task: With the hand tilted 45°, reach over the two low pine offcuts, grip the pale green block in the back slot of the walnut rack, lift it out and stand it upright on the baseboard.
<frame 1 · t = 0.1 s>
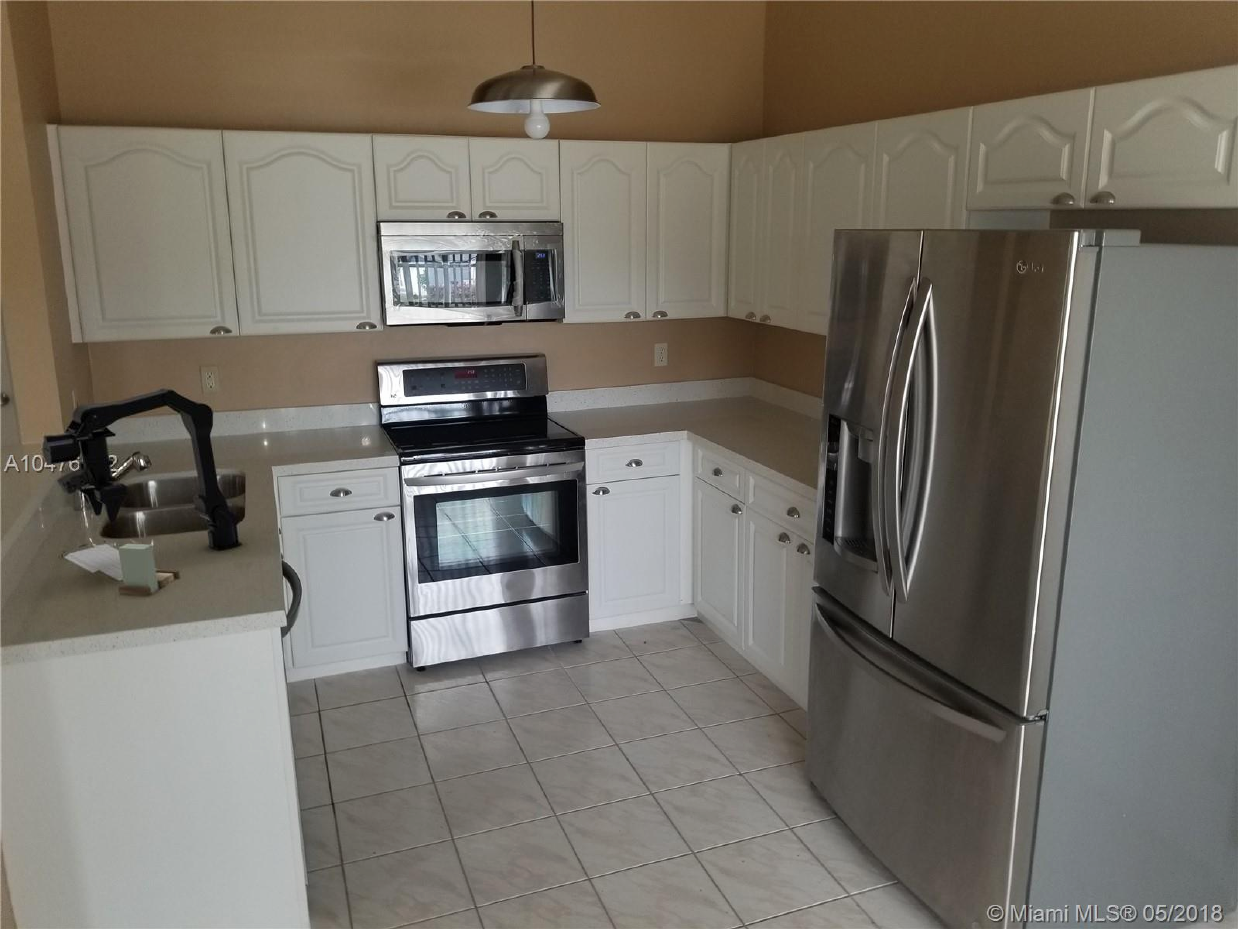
hand: (105, 519, 225), 15 cm above the countertop, fingers open, 9 cm apart
pale green block: (142, 590, 217), point 1 cm above the countertop, touching rack
rack: (142, 593, 217), on the countertop
offcut low: (156, 582, 222), point 1 cm above the countertop, touching offcut top, rack
baseboard: (107, 568, 236), on the countertop
offcut top: (156, 579, 222), point 2 cm above the countertop, touching offcut low
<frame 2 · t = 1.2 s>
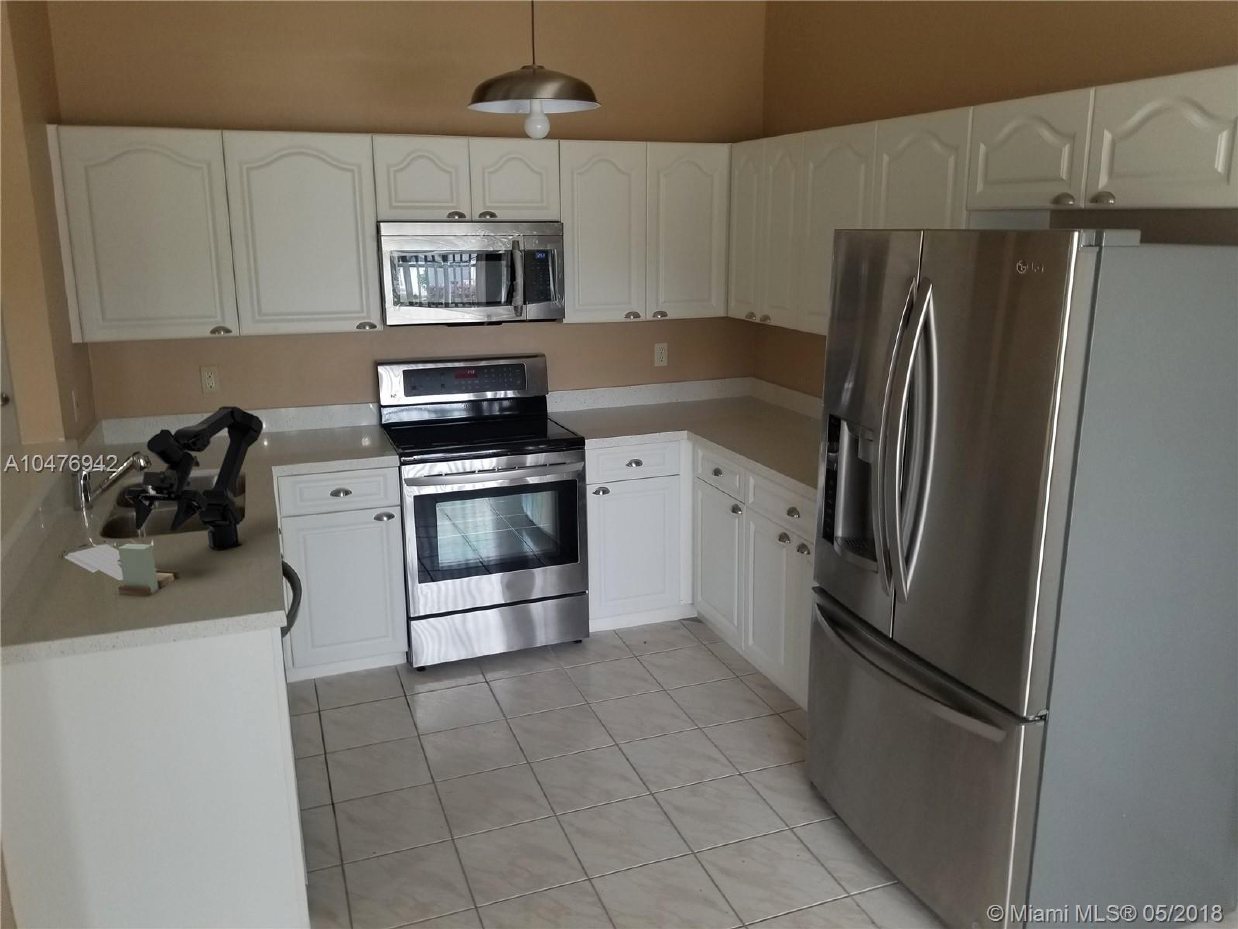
hand: (154, 530, 221), 13 cm above the countertop, fingers open, 9 cm apart
nothing on the countertop moved.
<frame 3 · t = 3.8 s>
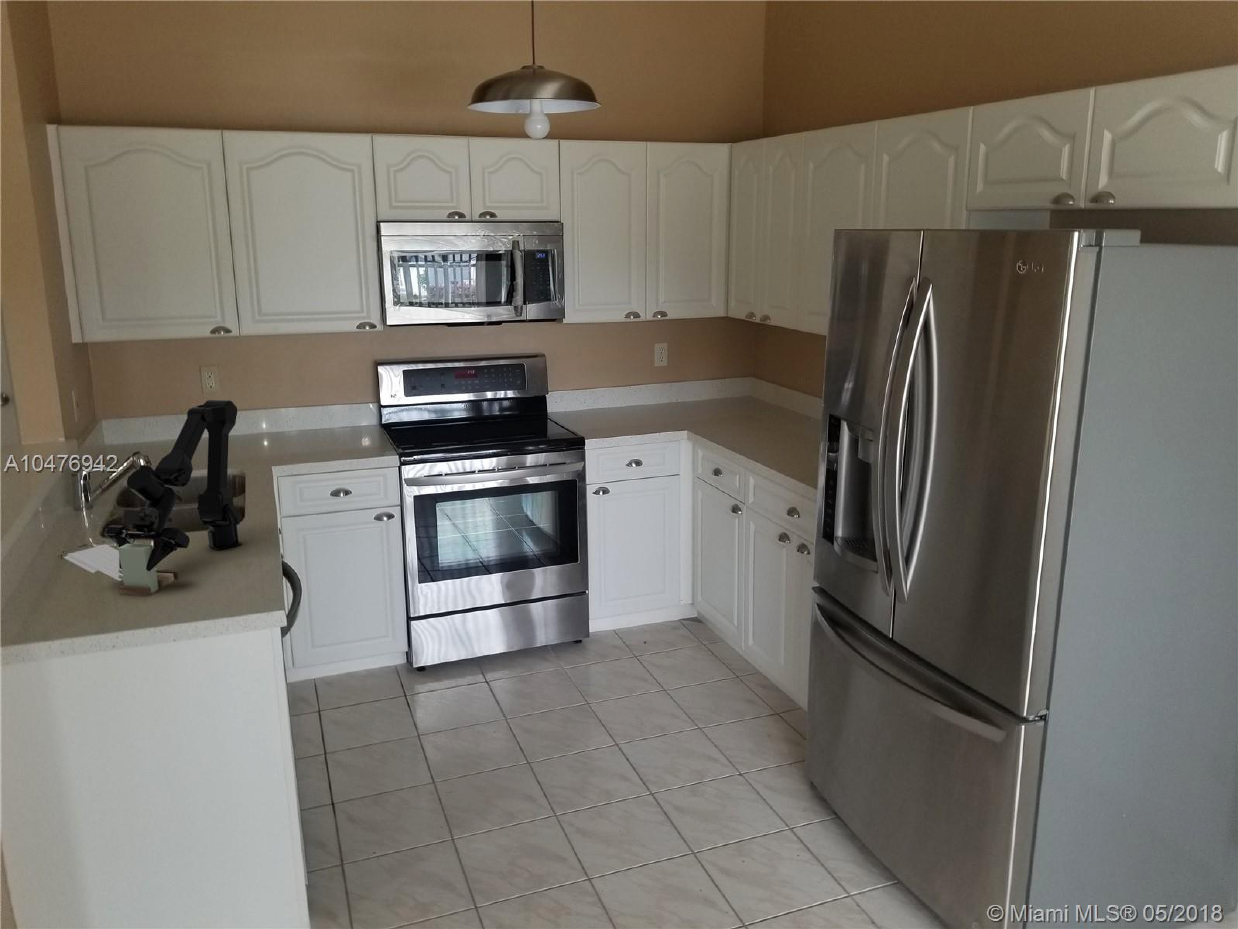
hand: (134, 569, 214), 7 cm above the countertop, fingers closed on pale green block, 6 cm apart
pale green block: (142, 590, 217), point 1 cm above the countertop, touching gripper, rack
everything else where it was.
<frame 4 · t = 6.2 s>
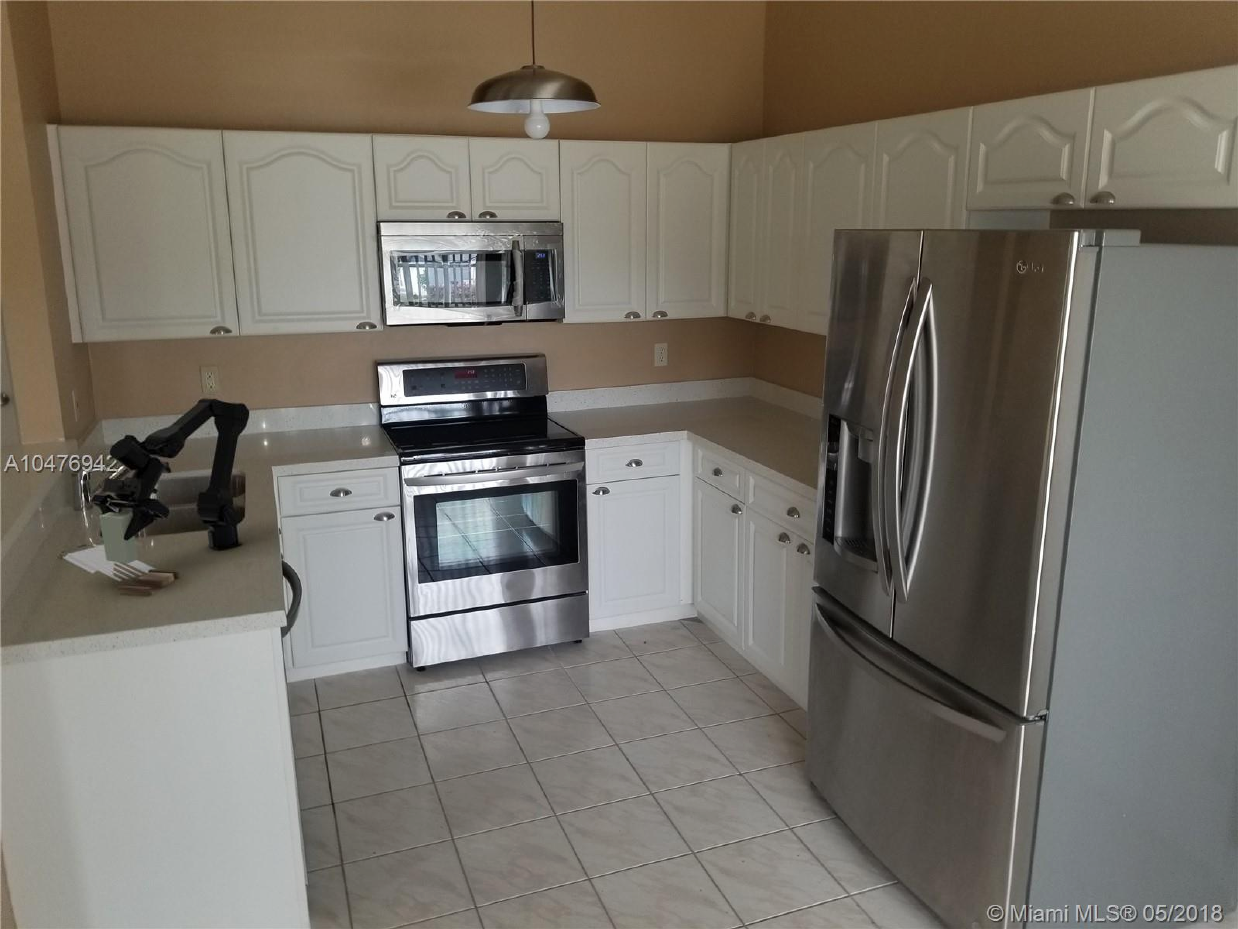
hand: (113, 538, 215), 13 cm above the countertop, fingers closed on pale green block, 6 cm apart
pale green block: (122, 559, 217), point 8 cm above the countertop, touching gripper
everything else where it was.
when the fingers open (9 cm above the countertop, at t = 9.1 s): pale green block drops 2 cm, resting on baseboard.
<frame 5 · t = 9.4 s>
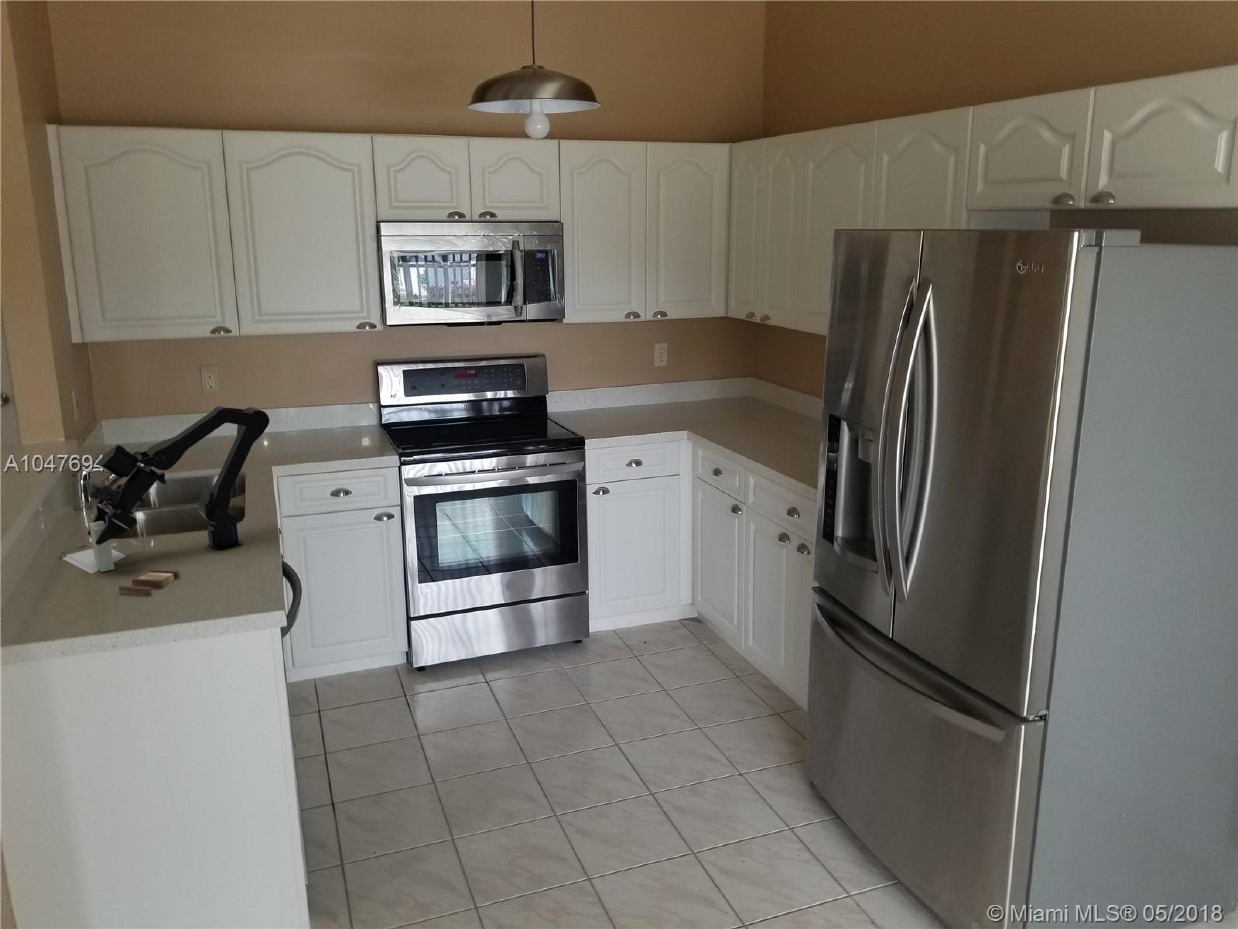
hand: (93, 539, 228), 9 cm above the countertop, fingers open, 9 cm apart
pale green block: (105, 566, 231), point 1 cm above the countertop, touching baseboard
baseboard: (106, 570, 235), on the countertop, touching pale green block
everything else where it was.
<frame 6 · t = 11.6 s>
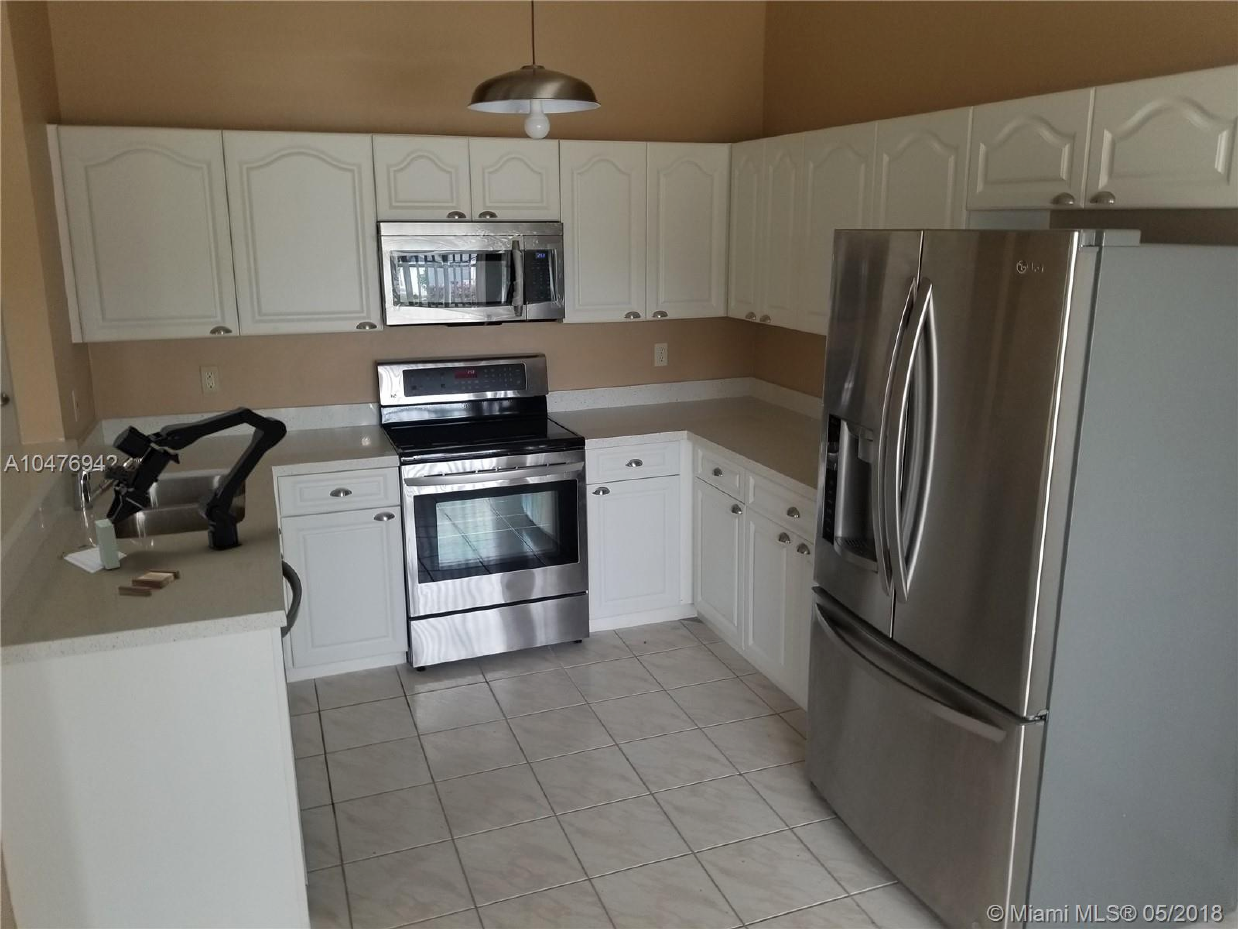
hand: (110, 520, 230), 13 cm above the countertop, fingers open, 9 cm apart
pale green block: (110, 564, 233), point 1 cm above the countertop, touching baseboard
everything else where it was.
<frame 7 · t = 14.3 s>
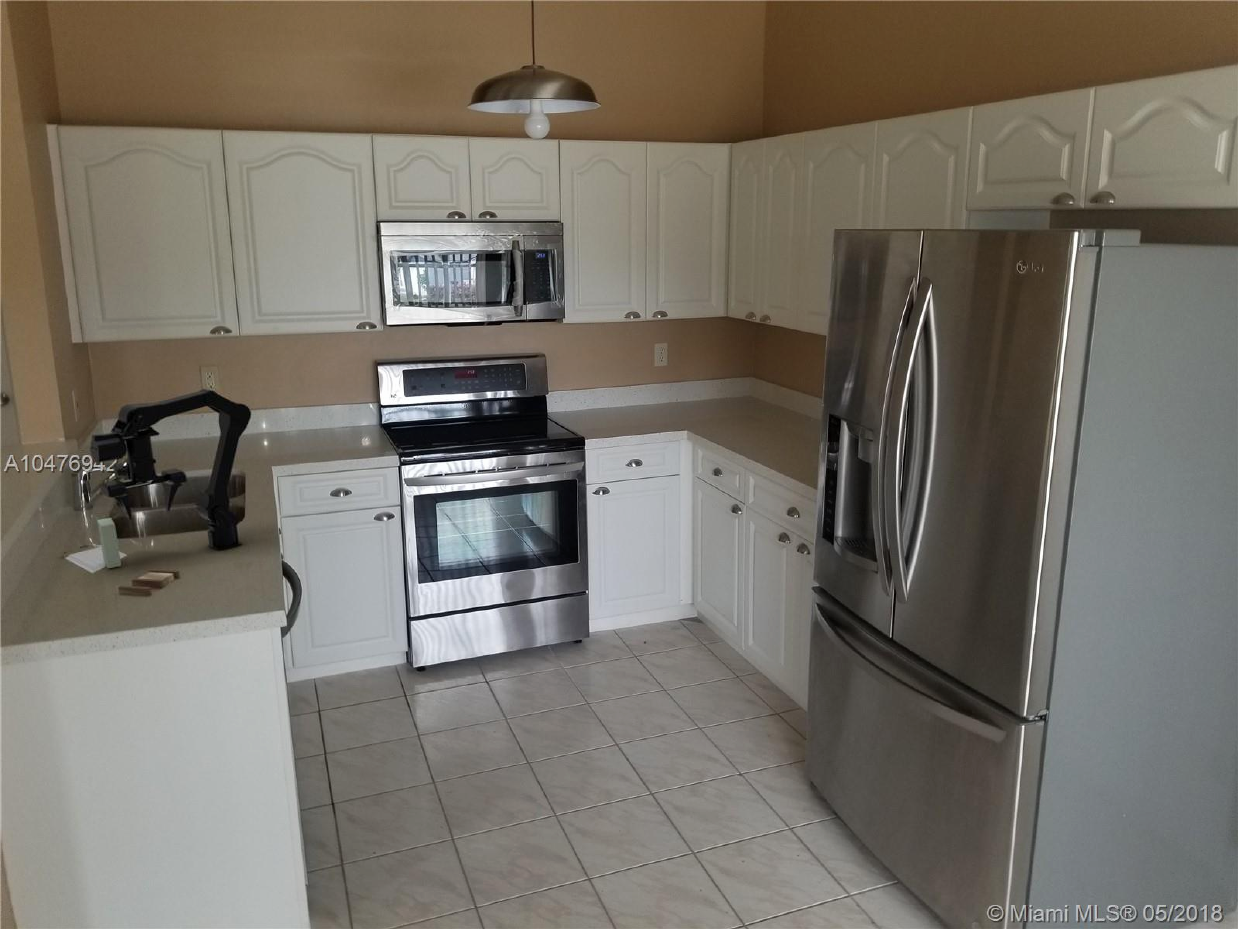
hand: (149, 515, 233), 13 cm above the countertop, fingers open, 9 cm apart
at the end: pale green block inside the target area (1.2 cm from its centre), point 1.2 cm above the countertop; pale green block tilted 0°; offcut top moved 0.0 cm from its start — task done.
